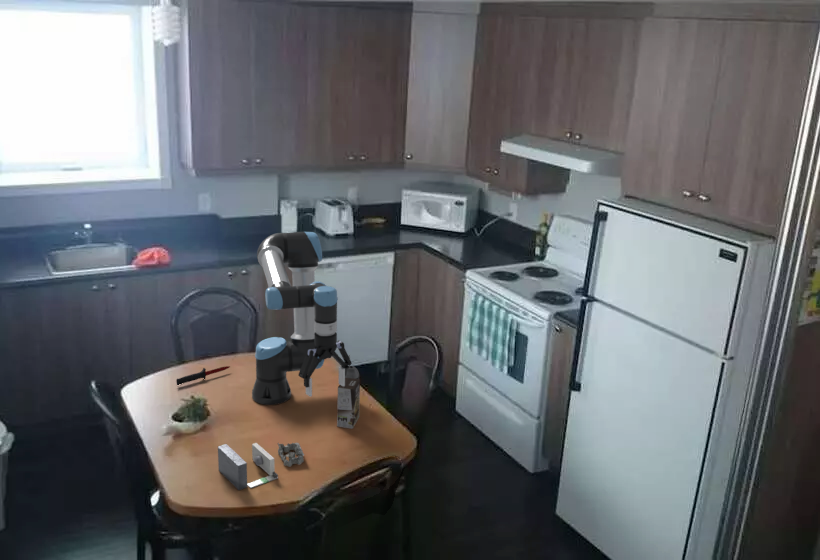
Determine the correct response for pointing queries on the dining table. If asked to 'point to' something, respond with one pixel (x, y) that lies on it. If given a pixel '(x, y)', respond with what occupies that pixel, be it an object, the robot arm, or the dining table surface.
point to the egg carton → (291, 454)
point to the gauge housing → (237, 469)
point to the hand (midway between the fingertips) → (325, 389)
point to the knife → (199, 375)
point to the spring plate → (263, 459)
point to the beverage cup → (352, 372)
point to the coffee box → (348, 403)
